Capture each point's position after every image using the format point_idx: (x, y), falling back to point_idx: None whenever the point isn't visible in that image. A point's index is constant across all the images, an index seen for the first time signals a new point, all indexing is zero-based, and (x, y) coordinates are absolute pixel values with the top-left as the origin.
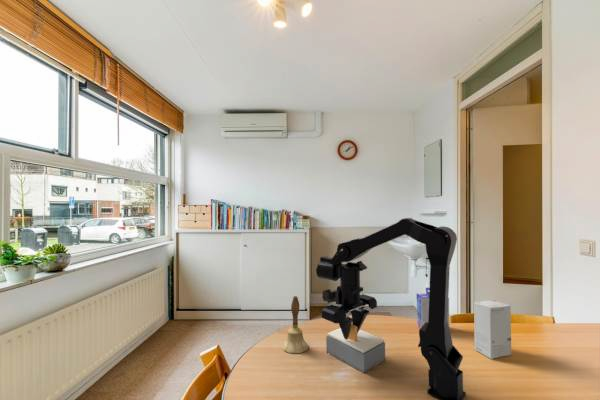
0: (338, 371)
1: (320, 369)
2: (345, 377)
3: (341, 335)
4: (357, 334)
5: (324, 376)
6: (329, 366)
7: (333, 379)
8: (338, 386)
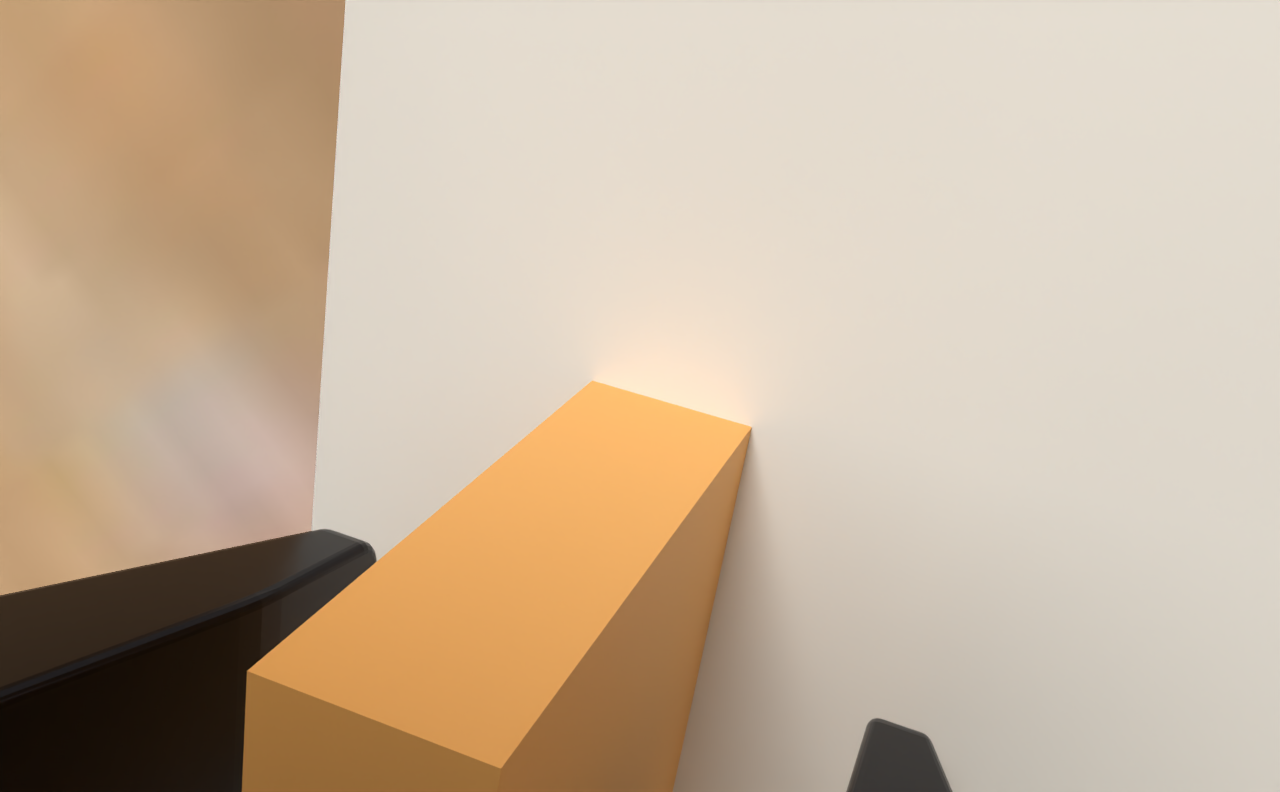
0: (262, 370)
1: (82, 46)
2: (221, 540)
3: (612, 245)
4: (1097, 776)
5: (7, 231)
6: (263, 140)
7: (59, 397)
8: (7, 531)
